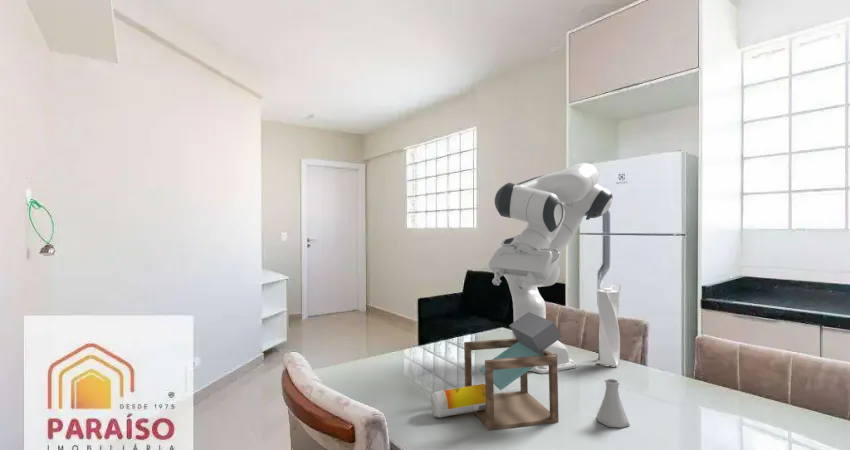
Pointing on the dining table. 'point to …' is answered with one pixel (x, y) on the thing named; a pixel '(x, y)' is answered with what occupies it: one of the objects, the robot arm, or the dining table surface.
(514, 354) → the trapdoor
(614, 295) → the skyscraper
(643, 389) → the dining table surface
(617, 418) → the flask
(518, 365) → the stand
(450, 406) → the beer can
